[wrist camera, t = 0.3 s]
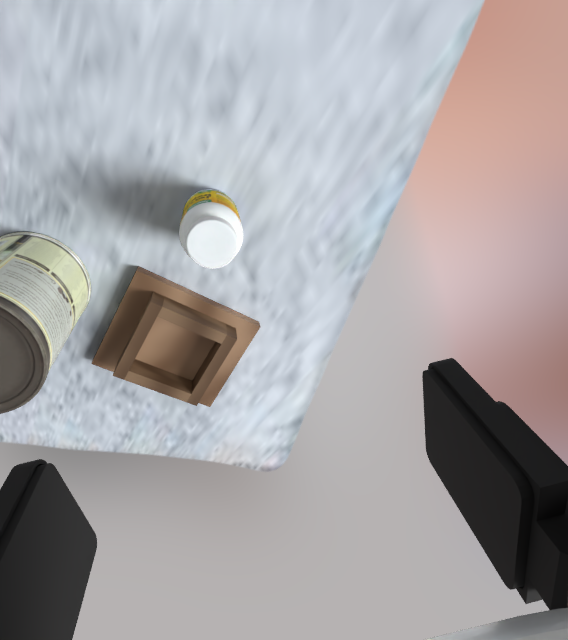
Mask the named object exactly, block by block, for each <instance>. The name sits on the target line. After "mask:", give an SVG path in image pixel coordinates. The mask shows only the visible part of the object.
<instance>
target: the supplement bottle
mask: <svg viewBox="0 0 568 640" xmlns="http://www.w3.org/2000/svg"><path fill="white" fill-rule="evenodd" d="M179 237H180V242H181V245H182V247H183V249H184V250H185V252H186V253H187V254H188V255H189V256H190V257H191V258H192V260H193V261H194V262H196V263H197V264H198V265H200V266H202V267H205V268H209V269H215V268H220V267H223V266H225V265H227V264H228V263H229V262H230V261H231V260H232V259H233V258H234V256H235V255H236V254H237V253H238V251H239V250H240V248H241V245H242V242H243V228H242V224H241V221H240V218H239V214H238V211H237V208H236V205H235V204H234V202H233V201H232V199H231V198H230V197H229V196H228V195H226V194H225V193H223V192H221V191H218V190H213V189H206V190H201V191H198V192H196V193H195V194H193V195H192V196H191V197H190V198H189V199H188V201H187V202H186V204H185V207H184V210H183V215H182V219H181V223H180V229H179Z"/></svg>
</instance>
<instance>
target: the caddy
mask: <svg viewBox="0 0 568 640" xmlns="http://www.w3.org/2000/svg"><path fill="white" fill-rule="evenodd" d="M259 328H260V324H259V322H258V321H256V320H254V319H252V318H249V317H247V316H245V315H243V314H241V313H239V312H236V311H234V310H232V309H230V308H228V307H226V306H223V305H221V304H219V303H217V302H215V301H213V300H210V299H208V298H206V297H204V296H202V295H200V294H198V293H195V292H193V291H191V290H189V289H187V288H185V287H182V286H180V285H178V284H176V283H174V282H172V281H169V280H167V279H165V278H163V277H161V276H159V275H156V274H154V273H152V272H150V271H148V270H146V269H143V268H141V267H139V266H138V268H137V270H136V272H135V274H134V276H133V279H132V281H131V283H130V285H129V287H128V289H127V291H126V293H125V295H124V297H123V299H122V301H121V303H120V305H119V307H118V309H117V312H116V314H115V316H114V318H113V320H112V322H111V324H110V326H109V328H108V330H107V332H106V334H105V336H104V338H103V340H102V342H101V344H100V347H99V349H98V351H97V353H96V355H95V357H94V359H93V361H92V364H93V365H96V366H99V367H102V368H104V369H107V370H110V371H113V372H114V373H113V376H115V377H118V378H121V379H124V380H126V381H129V382H132V383H135V384H137V385H140V386H143V387H146V388H149V389H151V390H154V391H157V392H160V393H162V394H165V395H168V396H171V397H174V398H176V399H179V400H182V401H185V402H187V403H190V404H193V405H196V406H197V404H198V403H201V404H203V405H206V406H209V407H210V406H211V404H212V403H213V401H214V400H215V398H216V396H217V395H218V393H219V392H220V390H221V389H222V387H223V385H224V384H225V382H226V381H227V379H228V377H229V376H230V374H231V373H232V371H233V369H234V368H235V366H236V365H237V363H238V361H239V360H240V358H241V357H242V355H243V354H244V352H245V350H246V349H247V347H248V346H249V344H250V342H251V341H252V339H253V338H254V336H255V334H256V333H257V331H258V330H259Z"/></svg>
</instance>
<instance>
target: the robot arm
mask: <svg viewBox="0 0 568 640" xmlns="http://www.w3.org/2000/svg"><path fill="white" fill-rule="evenodd" d="M423 394H424V395H423V396H424V416H425V437H426V451H427V455H428V458H429V460H430V462H431V464H432V466H433V467H434V469H435V471H436V472H437V474H438V476H439V477H440V479H441V481H442V482H443V484H444V486H445V487H446V489H447V490H448V492H449V494H450V495H451V497H452V499H453V500H454V502H455V503H456V505H457V507H458V508H459V510H460V512H461V513H462V515H463V517H464V518H465V520H466V522H467V523H468V525H469V526H470V528H471V530H472V531H473V533H474V535H475V536H476V538H477V539H478V541H479V543H480V544H481V546H482V547H483V549H484V551H485V553H486V554H487V556H488V557H489V559H490V561H491V562H492V564H493V566H494V567H495V569H496V571H497V572H498V574H499V575H500V577H501V579H502V580H503V582H504V583H505V585H506V586H507V587H508V588H509V589H515V588H516V589H517V591H518V592H519V594H520V595H521V597H522V598H523V600H524V602H525V603H526V604H528V603H531V602H535V601H539V600H542V599H543V601H544V602H545V603H546V605H547V607H548V608H549V611H544V612H539V613H533V614H528V615H523V616H517V617H514V618H510V619H506V620H502V621H498V622H493V623H489V624H486V625H481V626H477V627H474V628H469V629H465V630H461V631H457V632H453V633H449V634H445V635H441V636H437V637H434V638H430V639H426V640H568V466H567V465H566V464H565V463H564V462H563V461H562V460H561V459H560V458H559V457H558V456H557V455H556V454H555V453H554V452H553V451H552V450H551V449H550V448H549V447H548V446H547V445H546V444H545V443H544V442H543V441H542V439H540V438H539V436H537V434H536V433H534V431H532V430H531V428H530V427H529V426H528V425H526V423H525V422H524V421H523V420H522V419H521V418H519V416H518V415H517V414H516V413H515V412H514V411H513V410H512V409H511V408H510V407H509V406H507V405H506V404H505V403H503V402H500V401H498V402H495V401H494V400H493V399H492V398H491V397H490V396H489V395H488V393H486V392H485V390H484V389H483V388H482V387H481V386H480V385H479V384H478V383H477V382H476V381H475V380H474V379H473V378H472V377H471V376H470V375H469V374H468V373H467V372H466V371H465V370H464V369H463V368H462V367H461V365H460V364H459V363H458V362H457V361H456V360H454V359H453V358H450V359H446V360H442V361H437V362H433V363H430V364H429V366H428V370H425V371H423ZM96 548H97V538H96V534H95V532H94V531H93V529H92V527H91V526H90V524H89V522H88V521H87V519H86V517H85V516H84V514H83V512H82V511H81V509H80V507H79V506H78V504H77V502H76V501H75V499H74V497H73V496H72V494H71V492H70V491H69V489H68V487H67V486H66V484H65V483H64V481H63V479H62V477H61V476H60V474H59V472H58V471H57V469H56V468H55V466H54V465H53V464H51V463H48V464H47V462H46V461H44V460H42V459H39V460H35V461H31V462H27V463H23V464H19V465H16V466H14V468H13V469H12V470H11V472H10V474H9V475H8V477H7V479H6V481H5V482H4V484H3V486H2V488H1V489H0V640H72V638H73V634H74V630H75V627H76V623H77V620H78V616H79V612H80V608H81V604H82V601H83V597H84V593H85V590H86V586H87V582H88V579H89V575H90V571H91V568H92V564H93V560H94V556H95V552H96Z"/></svg>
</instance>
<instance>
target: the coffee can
mask: <svg viewBox="0 0 568 640" xmlns="http://www.w3.org/2000/svg"><path fill="white" fill-rule="evenodd" d="M90 295H91V283H90V278H89V274H88V272H87V270H86V268H85V266H84V264H83V263H82V261H81V260H80V259H79V257H78V256H77V255H76V254H75V253H74V252H73V251H72V250H71V249H69V248H68V247H67V246H65V245H64V244H62V243H61V242H59V241H57V240H55V239H53V238H51V237H48V236H45V235H42V234H38V233H32V232H14V233H11V234H7V235H4V236H1V237H0V414H1V413H6V412H9V411H12V410H14V409H17V408H19V407H21V406H23V405H24V404H26V403H27V402H29V401H30V400H31V399H32V398H33V397H34V396H35V395H36V394H37V393H38V392H39V391H40V389H41V387H42V386H43V384H44V382H45V380H46V378H47V375H48V372H49V370H50V368H51V367H52V365H53V363H54V361H55V360H56V358H57V356H58V354H59V353H60V351H61V349H62V347H63V346H64V344H65V342H66V340H67V338H68V337H69V335H70V333H71V331H72V330H73V328H74V326H75V324H76V323H77V321H78V319H79V317H80V316H81V314H82V313H83V311H84V310H85V309H86V307H87V305H88V303H89V300H90Z"/></svg>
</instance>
